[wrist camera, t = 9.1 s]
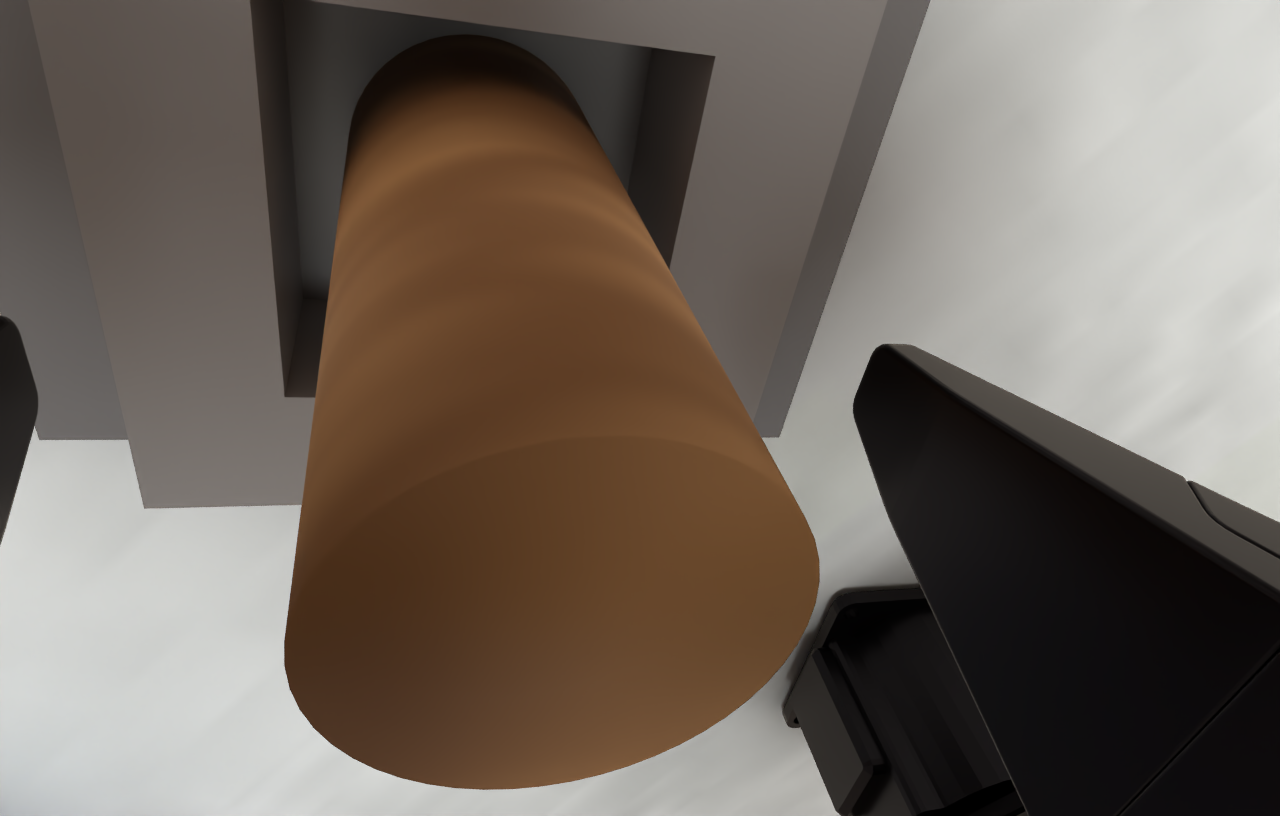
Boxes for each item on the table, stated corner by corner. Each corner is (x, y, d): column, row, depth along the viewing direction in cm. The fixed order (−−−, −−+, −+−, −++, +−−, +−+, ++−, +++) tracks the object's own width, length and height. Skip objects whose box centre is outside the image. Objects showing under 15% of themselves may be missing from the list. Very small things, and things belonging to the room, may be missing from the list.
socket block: (956, -178, 13) (1123, -164, 10) (764, 412, 20) (830, 527, 17) (-191, -461, 9) (-491, -577, 6) (56, 407, 16) (-26, 560, 13)
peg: (606, 51, 13) (891, 434, 6) (574, 273, 16) (747, 759, 8) (344, 16, 12) (258, 437, 5) (351, 261, 15) (301, 816, 7)
